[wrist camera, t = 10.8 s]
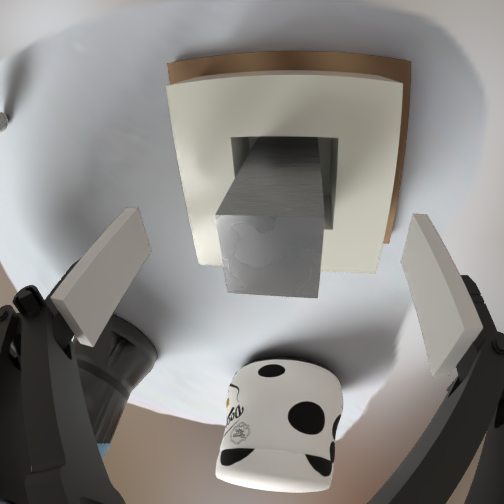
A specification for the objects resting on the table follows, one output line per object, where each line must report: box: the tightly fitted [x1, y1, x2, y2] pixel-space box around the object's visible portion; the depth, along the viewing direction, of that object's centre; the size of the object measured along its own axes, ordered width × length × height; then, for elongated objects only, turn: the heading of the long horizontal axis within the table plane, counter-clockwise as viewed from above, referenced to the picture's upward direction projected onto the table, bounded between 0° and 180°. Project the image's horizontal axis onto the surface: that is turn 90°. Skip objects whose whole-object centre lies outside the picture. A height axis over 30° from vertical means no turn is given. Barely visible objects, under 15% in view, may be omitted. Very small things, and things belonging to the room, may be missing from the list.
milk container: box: [216, 357, 343, 492], centre depth 37 cm, size 17×17×18 cm
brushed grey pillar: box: [215, 136, 325, 298], centre depth 17 cm, size 4×4×12 cm
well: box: [166, 70, 403, 274], centre depth 20 cm, size 13×13×6 cm
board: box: [167, 51, 411, 244], centre depth 23 cm, size 18×16×1 cm
